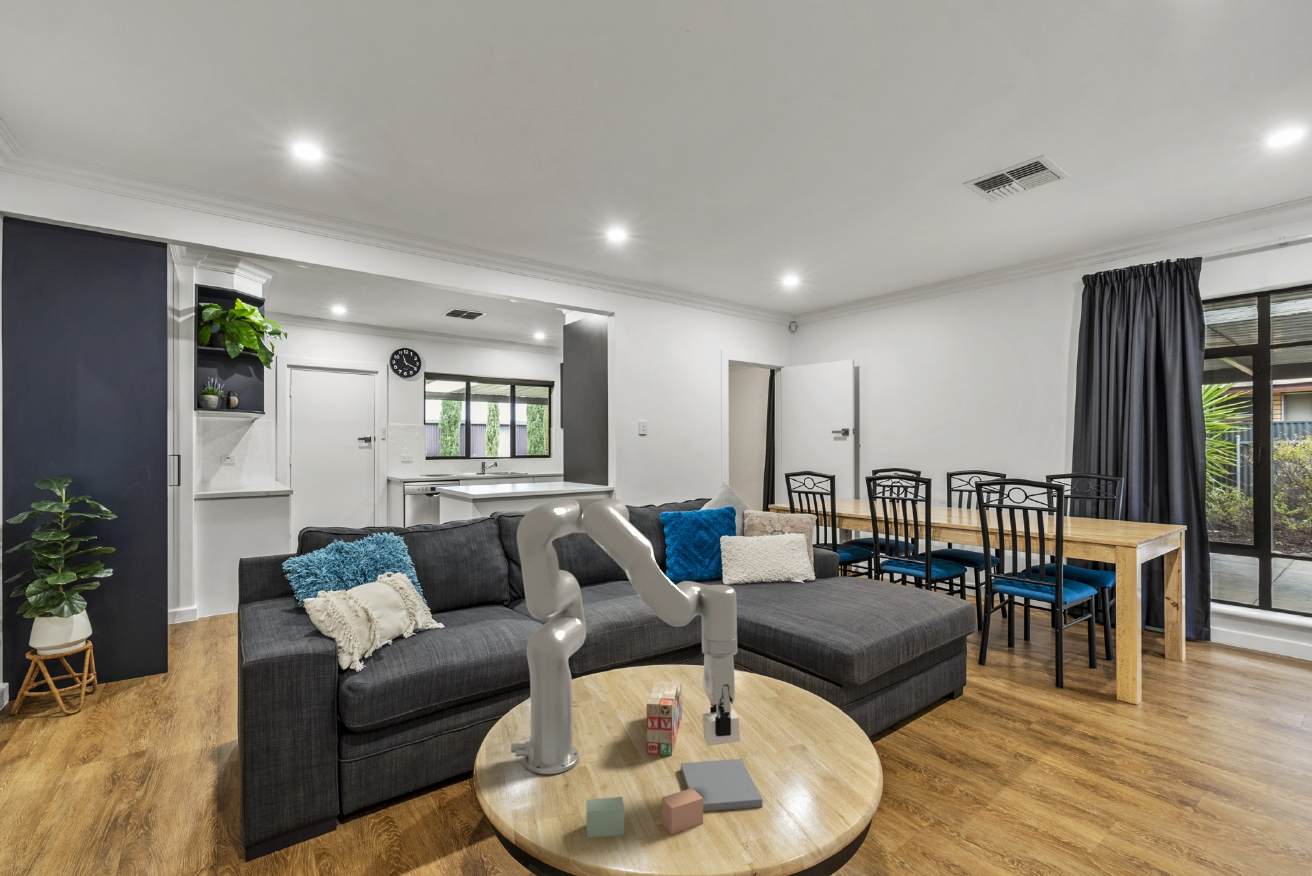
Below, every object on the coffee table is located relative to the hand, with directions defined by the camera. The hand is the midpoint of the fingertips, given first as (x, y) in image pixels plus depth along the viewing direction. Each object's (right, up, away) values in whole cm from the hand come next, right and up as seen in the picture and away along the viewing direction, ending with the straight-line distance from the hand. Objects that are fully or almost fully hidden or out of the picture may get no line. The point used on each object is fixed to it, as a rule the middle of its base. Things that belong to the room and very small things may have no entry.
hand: (720, 729), depth 133 cm
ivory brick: (0, -2, 0) cm, 2 cm away
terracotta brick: (-9, -13, -12) cm, 20 cm away
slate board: (0, -12, 0) cm, 12 cm away
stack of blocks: (-11, -13, +24) cm, 30 cm away
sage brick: (-24, -13, -14) cm, 30 cm away
